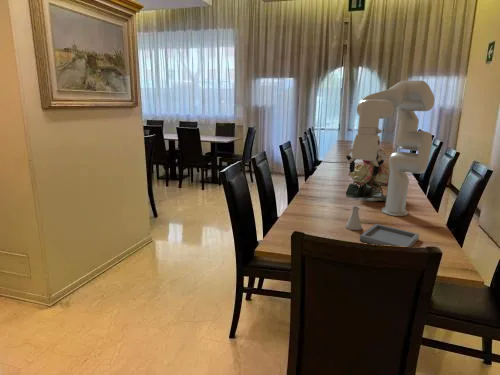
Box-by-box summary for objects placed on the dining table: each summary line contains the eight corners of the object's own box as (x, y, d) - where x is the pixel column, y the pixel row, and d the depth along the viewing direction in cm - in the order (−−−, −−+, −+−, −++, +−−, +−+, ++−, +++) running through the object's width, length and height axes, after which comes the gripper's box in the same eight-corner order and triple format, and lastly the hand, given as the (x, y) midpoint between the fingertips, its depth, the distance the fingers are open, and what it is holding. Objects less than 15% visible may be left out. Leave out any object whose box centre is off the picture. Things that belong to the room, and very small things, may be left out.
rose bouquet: (343, 199, 196) (347, 148, 189) (353, 188, 221) (357, 143, 214) (390, 206, 185) (396, 152, 177) (395, 193, 210) (401, 145, 202)
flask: (358, 225, 157) (360, 204, 154) (364, 230, 150) (366, 209, 147) (343, 225, 156) (345, 204, 154) (348, 230, 149) (350, 209, 147)
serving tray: (375, 228, 152) (376, 223, 151) (418, 239, 141) (419, 233, 140) (359, 240, 139) (360, 235, 138) (405, 253, 128) (406, 247, 127)
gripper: (393, 132, 131) (387, 175, 136) (350, 129, 142) (347, 169, 146) (386, 133, 126) (381, 178, 130) (343, 130, 136) (339, 172, 140)
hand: (363, 173), depth 138 cm, fingers open, 9 cm apart
